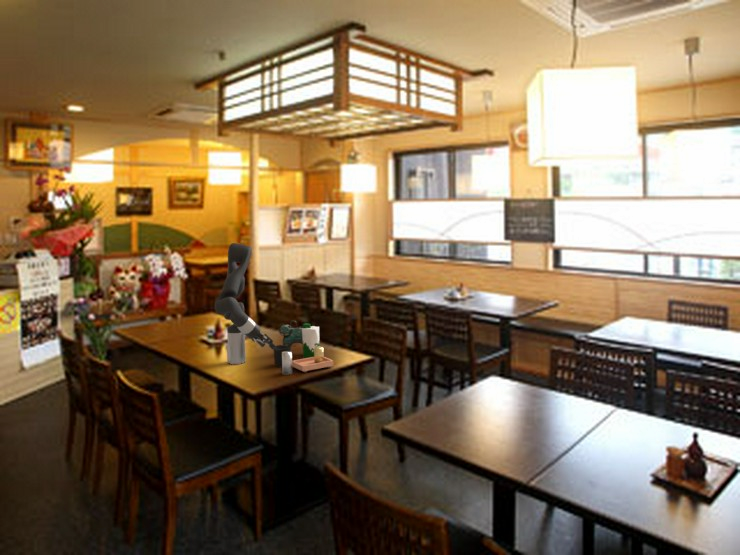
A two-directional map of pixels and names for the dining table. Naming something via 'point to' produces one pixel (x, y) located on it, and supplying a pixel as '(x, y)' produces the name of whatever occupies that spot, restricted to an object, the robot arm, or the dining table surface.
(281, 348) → the pen holder
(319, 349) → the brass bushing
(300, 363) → the pink tray
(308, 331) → the milk carton
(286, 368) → the steel spacer
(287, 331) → the ceramic cat
